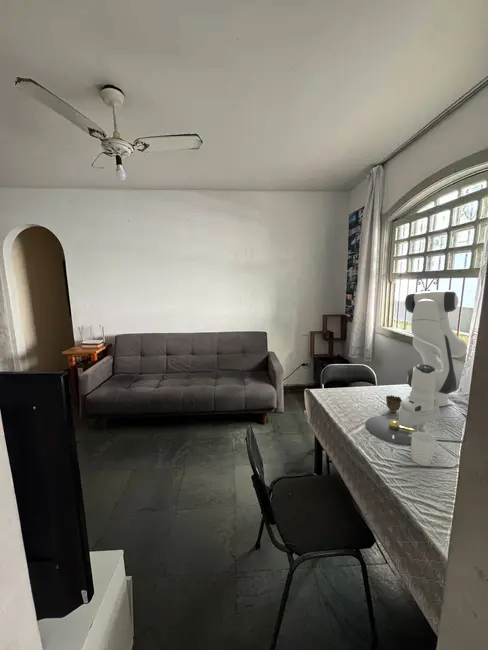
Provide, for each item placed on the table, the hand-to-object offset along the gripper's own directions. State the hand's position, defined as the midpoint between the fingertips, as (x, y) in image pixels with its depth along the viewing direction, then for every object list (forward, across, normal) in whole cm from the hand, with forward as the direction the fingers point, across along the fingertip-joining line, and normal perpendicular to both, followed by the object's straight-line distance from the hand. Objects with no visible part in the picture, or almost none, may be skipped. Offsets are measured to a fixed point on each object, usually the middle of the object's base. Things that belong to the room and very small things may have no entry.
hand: (417, 432), depth 123 cm
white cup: (+4, +12, +11) cm, 16 cm away
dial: (+4, +3, -10) cm, 11 cm away
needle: (+2, 0, -6) cm, 6 cm away
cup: (+4, -12, -23) cm, 26 cm away
